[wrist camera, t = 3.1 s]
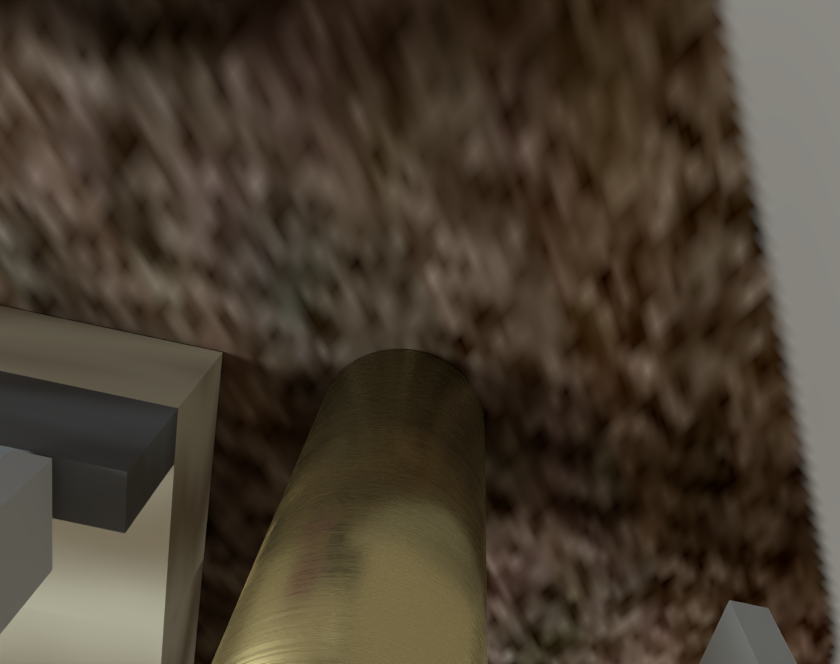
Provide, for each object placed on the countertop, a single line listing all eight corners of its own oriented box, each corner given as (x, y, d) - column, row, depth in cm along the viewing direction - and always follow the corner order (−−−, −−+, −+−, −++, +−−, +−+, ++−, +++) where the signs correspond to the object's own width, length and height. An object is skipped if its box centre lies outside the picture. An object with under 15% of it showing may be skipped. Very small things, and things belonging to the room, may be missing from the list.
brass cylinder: (333, 333, 18) (186, 641, 9) (501, 368, 18) (524, 712, 9) (311, 473, 20) (168, 851, 11) (464, 505, 20) (451, 910, 11)
